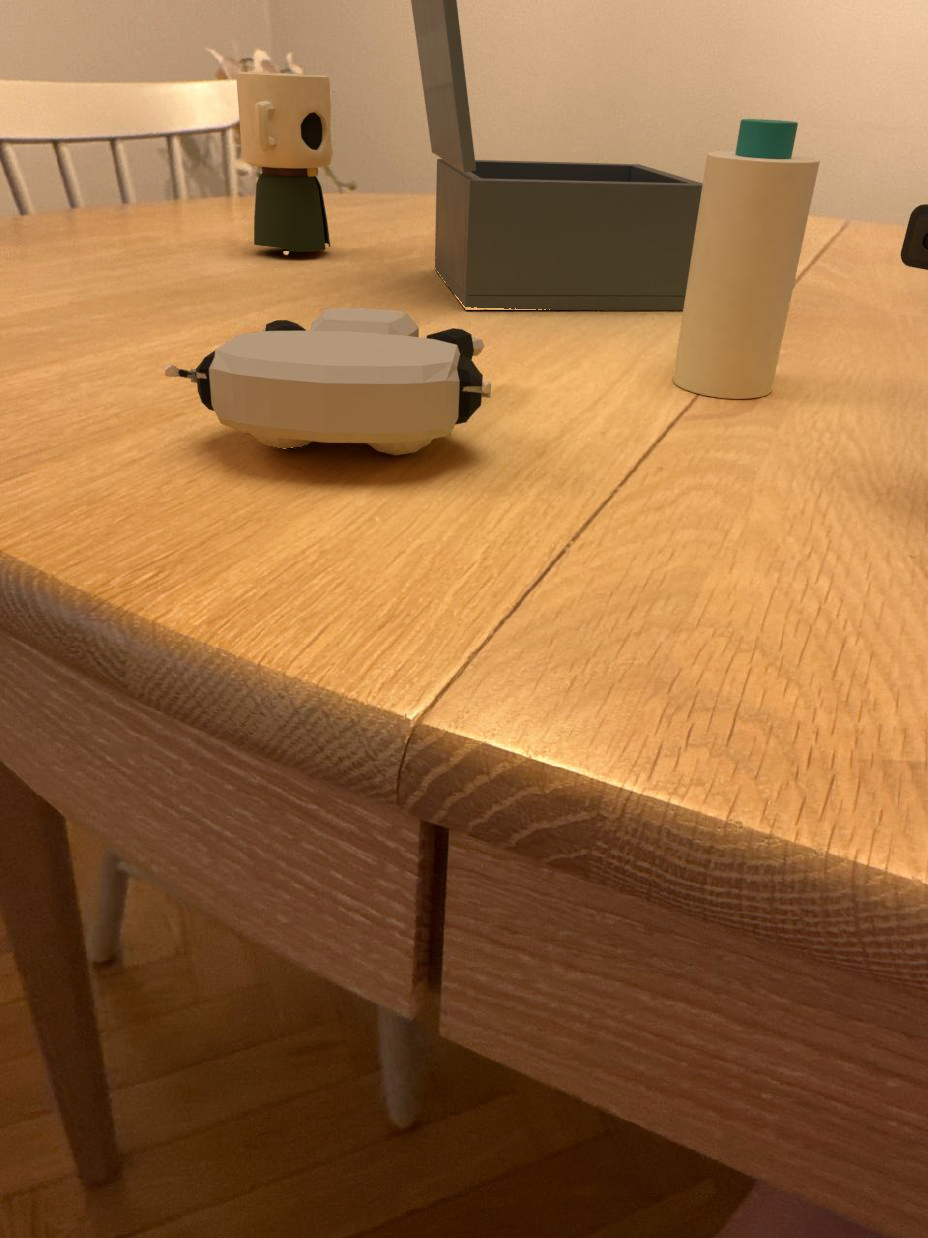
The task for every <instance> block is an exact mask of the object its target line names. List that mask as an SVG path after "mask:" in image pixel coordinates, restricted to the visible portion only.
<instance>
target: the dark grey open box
mask: <svg viewBox="0 0 928 1238" xmlns="http://www.w3.org/2000/svg"><path fill="white" fill-rule="evenodd" d="M475 164H476V170H475V171H471V172H463V171H461V170H460V169H458V168H456V167H455V166H453V165H452V164H450V163H448V162H447V161H445V160H443V159H442V158H437V159H436V187H435V189H436V190H435V198H436V199H435V229H434V230H435V231H434V232H435V233H434V234H435V237H434V238H435V239H434V269H435V268H436V270H437V271H438V272H439V274H440V275H441V277H442V278H443V280H444V281H445V282H446V284H447V285H448V286H449V288H450V289H451V290H452V292H453V293H454V294H455V295H456V296H457V297H458V298H459V300H460V301H461V302H462V304H463V305H464V306H465V307H471V308H474V307H477V308H504V309H509V308H511V309H515V308H516V309H536V310H538V309H542V310H544V309H546V310H549V309H550V310H593V312H597V311H598V312H599V311H600V310H602V312H604V311H605V312H606V311H609V312H613V311H614V312H615V311H618V312H619V311H620V312H621V311H622V312H623V311H624V312H627V311H628V312H630V311H631V312H633V311H634V312H637V311H639V312H642V311H645V312H646V311H648V312H649V311H657V312H659V311H660V312H661V311H664V312H665V311H667V312H668V311H669V312H670V311H671V312H673V311H675V312H676V311H678V312H679V311H680V312H681V311H682V312H683V309H684V302H685V296H686V289H687V283H688V276H689V270H690V263H691V257H692V250H693V244H694V237H695V231H696V224H697V218H698V211H699V205H700V198H701V192H702V185H703V182H699V181H696V180H692V179H689V178H687V177H683V176H679V175H676V174H673V173H669V172H667V171H663V170H659V169H656V168H652V167H650V166H646V165H642V164H639V163H609V162H605V163H604V162H603V163H602V162H573V161H571V162H566V161H531V160H500V159H499V160H498V159H497V160H496V159H475ZM441 277H440V278H441ZM443 280H442V281H443ZM444 281H443V282H444ZM446 284H445V285H446ZM447 285H446V286H447ZM449 288H448V289H449ZM450 289H449V290H450ZM452 292H451V293H452ZM453 293H452V294H453ZM595 310H597V311H595Z"/></svg>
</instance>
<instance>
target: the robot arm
mask: <svg viewBox="0 0 928 1238" xmlns="http://www.w3.org/2000/svg"><path fill="white" fill-rule="evenodd" d="M900 259H901V262H902V263H903V264H904V266H906V267H909V268H914V269H920V270H926V271H928V203H926V204H925V203H924V204H920V205H918V206H916V207H915V208H914V209H913V210H912V211H911V213H910V215H909V219H908V223H907V226H906V230H905V234H904V237H903V242H902V246H901V250H900Z"/></svg>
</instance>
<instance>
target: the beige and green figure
mask: <svg viewBox="0 0 928 1238" xmlns="http://www.w3.org/2000/svg"><path fill="white" fill-rule="evenodd" d="M235 78H236V92H237V106H238V120H239V132H240V146H241V156H242V160H243V162H245V163H247V164H249V165H251V166H255V167H261V174H259V175H258V178H257V181H256V184H255V199H254V200H255V201H254V215H253V217H254V218H253V244H254V245H255V246H259V247H260V246H261V247H267V248H276V249H282V250H281V251H282V252H283V251H290V252H295V253H299V252H302V253H303V252H305V253H306V252H307V253H308V252H309V253H311V252H317V251H318V252H319V251H325V250H326V245H328V247H329V248H330V247H331V241H330V239H331V238H330V231H329V223H328V216H327V211H326V205H325V200H324V194H323V189H322V185H321V183H320V181H319V178H318V175H319V169H320V168H325V167H327V166H330V165H331V163H332V158H333V153H334V152H333V150H334V149H333V144H332V133H331V121H332V119H331V118H332V103H331V102H332V101H331V89H330V88H331V86H330V76H328V75H324V74H323V75H321V74H320V75H319V74H304V73H287V72H285V73H283V72H263V71H262V72H261V71H260V72H259V71H258V72H257V71H238V72H236V77H235Z"/></svg>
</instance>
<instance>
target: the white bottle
mask: <svg viewBox="0 0 928 1238" xmlns="http://www.w3.org/2000/svg"><path fill="white" fill-rule="evenodd" d="M798 126H799V122H798V121H793V120H792V121H791V120H778V119H760V118H742V119H740V123H739V129H738V135H737V140H736V147H735V151H710V152H708V153H707V154H706V160H705V166H704V172H703V178H702V183H703V185H702V192H701V198H700V205H699V211H698V218H697V224H696V231H695V237H694V244H693V250H692V257H691V263H690V270H689V276H688V283H687V289H686V296H685V302H684V309H683V311H682V316H681V322H680V323H681V324H680V329H679V336H678V342H677V348H676V355H675V361H674V367H673V374H672V381H673V383H674V384H675V385H676V386H678V387H679V388H681V389H683V390H685V391H687V392H691V393H694V394H698V395H701V396H707V397H711V398H712V397H713V398H719V399H728V400H748V399H749V400H750V399H756V398H761V397H765V396H767V395H769V394H771V392H772V391H773V387H774V383H775V376H776V373H777V367H778V363H779V357H780V354H781V353H780V352H781V349H782V345H783V340H784V339H783V338H784V333H785V329H786V324H787V319H788V315H789V309H790V306H791V305H790V304H791V301H792V296H793V290H794V286H795V282H796V278H797V277H796V276H797V273H798V272H797V271H798V267H799V262H800V257H801V253H802V248H803V243H804V238H805V233H806V228H807V223H808V219H809V216H810V210H811V205H812V201H813V196H814V190H815V186H816V181H817V176H818V171H819V167H820V159H818V158H815V157H811V156H810V157H809V156H803V155H794V154H793V151H794V147H795V142H796V136H797V131H798Z"/></svg>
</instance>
